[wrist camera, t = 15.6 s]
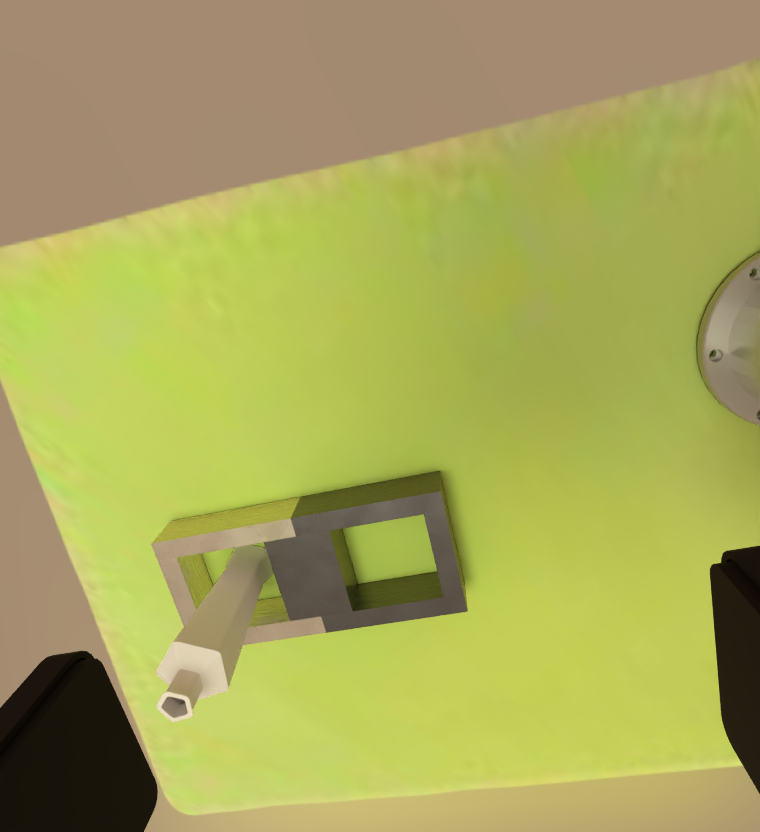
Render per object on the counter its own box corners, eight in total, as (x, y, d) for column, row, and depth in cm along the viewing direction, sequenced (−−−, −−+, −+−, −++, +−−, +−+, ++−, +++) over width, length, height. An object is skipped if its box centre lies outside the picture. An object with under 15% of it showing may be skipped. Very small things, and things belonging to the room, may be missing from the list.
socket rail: (439, 471, 44) (440, 491, 40) (464, 583, 46) (467, 611, 43) (170, 521, 47) (151, 543, 43) (209, 623, 50) (194, 652, 46)
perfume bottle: (217, 539, 47) (126, 675, 33) (270, 537, 46) (201, 673, 32) (227, 588, 48) (144, 738, 34) (278, 586, 48) (215, 737, 34)
